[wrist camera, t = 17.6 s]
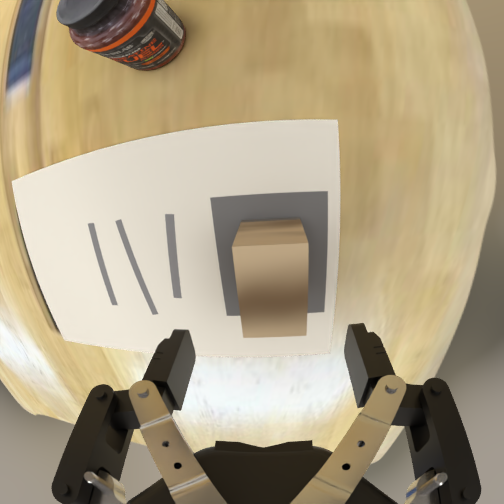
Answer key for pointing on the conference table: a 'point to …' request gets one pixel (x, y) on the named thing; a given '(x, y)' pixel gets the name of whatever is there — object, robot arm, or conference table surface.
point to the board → (181, 234)
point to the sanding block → (272, 277)
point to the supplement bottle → (125, 30)
